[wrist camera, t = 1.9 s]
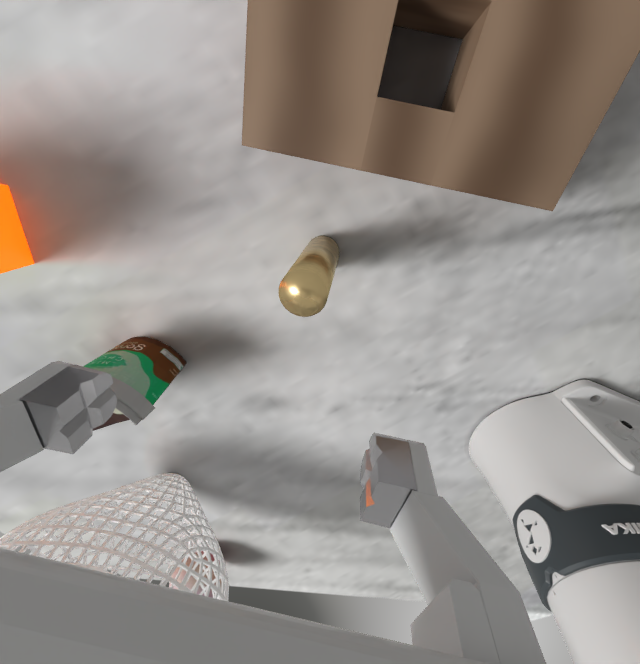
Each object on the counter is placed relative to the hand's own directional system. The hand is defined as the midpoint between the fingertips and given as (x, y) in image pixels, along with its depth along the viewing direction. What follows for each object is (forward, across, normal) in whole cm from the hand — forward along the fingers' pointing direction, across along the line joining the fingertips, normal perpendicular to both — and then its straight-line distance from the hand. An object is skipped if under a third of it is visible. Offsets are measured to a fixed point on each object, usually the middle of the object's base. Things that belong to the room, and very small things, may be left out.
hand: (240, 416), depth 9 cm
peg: (+20, 0, 0) cm, 20 cm away
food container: (+21, +19, +16) cm, 32 cm away
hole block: (+20, -4, -13) cm, 24 cm away
